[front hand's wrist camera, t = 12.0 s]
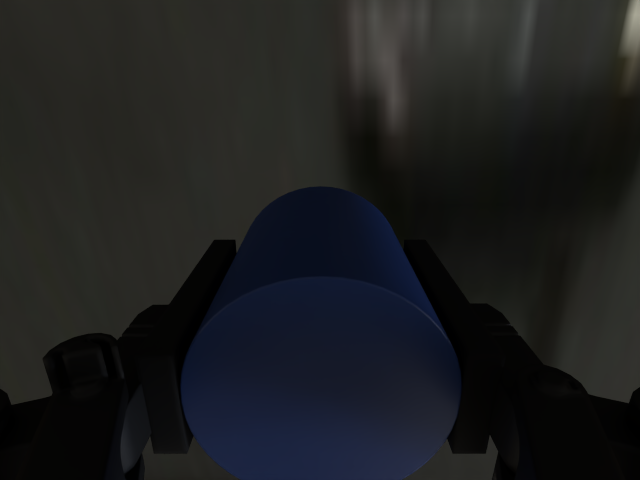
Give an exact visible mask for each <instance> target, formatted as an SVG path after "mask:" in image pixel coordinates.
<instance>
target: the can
mask: <svg viewBox="0 0 640 480" xmlns="http://www.w3.org/2000/svg"><path fill="white" fill-rule="evenodd" d="M461 393H462V376H461V369H460V365H459V362H458V358H457V355H456V353H455V351H454V349H453V346H452V344H451V342H450V340H449V338H448V336H447V334H446V332H445V330H444V328H443V326H442V325H441V323H440V321H439V319H438V317H437V315H436V313H435V311H434V309H433V307H432V305H431V303H430V301H429V299H428V297H427V295H426V293H425V292H424V290H423V288H422V286H421V284H420V282H419V280H418V278H417V276H416V274H415V272H414V270H413V268H412V266H411V264H410V262H409V261H408V259H407V257H406V255H405V253H404V251H403V249H402V247H401V245H400V243H399V241H398V239H397V237H396V235H395V233H394V231H393V229H392V228H391V226H390V224H389V223H388V221H387V219H386V218H385V217H384V216H383V214H382V213H381V212H380V211H379V210H378V209H377V208H376V207H375V206H374V205H372V204H371V203H370V202H368V201H367V200H365V199H364V198H362V197H360V196H358V195H356V194H354V193H352V192H349V191H346V190H343V189H338V188H333V187H321V186H320V187H308V188H303V189H298V190H295V191H292V192H289V193H287V194H285V195H283V196H281V197H279V198H277V199H276V200H274V201H273V202H271V203H270V204H269V205H268V206H267V207H265V208H264V209H263V210H262V211H261V212H260V214H259V215H258V216H257V217H256V218H255V220H254V222H253V223H252V225H251V226H250V228H249V230H248V232H247V234H246V236H245V238H244V240H243V242H242V244H241V246H240V248H239V250H238V252H237V254H236V256H235V258H234V260H233V262H232V264H231V266H230V268H229V270H228V272H227V274H226V276H225V278H224V280H223V282H222V284H221V285H220V287H219V289H218V291H217V293H216V295H215V297H214V299H213V301H212V303H211V305H210V307H209V309H208V311H207V313H206V315H205V317H204V319H203V321H202V323H201V325H200V327H199V329H198V331H197V333H196V335H195V337H194V339H193V341H192V343H191V345H190V347H189V350H188V352H187V354H186V356H185V359H184V363H183V367H182V371H181V380H180V395H181V404H182V408H183V412H184V416H185V419H186V421H187V423H188V426H189V428H190V430H191V432H192V434H193V435H194V437H195V439H196V440H197V442H198V443H199V445H200V446H201V447H202V448H203V449H204V451H205V452H206V453H207V454H208V455H209V456H210V457H211V458H212V459H213V460H214V461H215V462H216V463H217V464H218V465H220V466H221V467H222V468H224V469H225V470H226V471H228V472H229V473H230V474H232V475H234V476H235V477H237V478H239V479H241V480H402V479H403V478H405V477H407V476H408V475H410V474H412V473H413V472H415V471H416V470H417V469H419V468H420V467H421V466H423V465H424V464H425V463H426V462H427V461H428V460H429V459H430V458H431V457H432V456H433V455H434V454H435V453H436V452H437V451H438V450H439V448H440V447H441V446H442V445H443V444H444V442H445V441H446V439H447V437H448V436H449V434H450V432H451V431H452V429H453V426H454V424H455V422H456V419H457V417H458V412H459V406H460V400H461Z"/></svg>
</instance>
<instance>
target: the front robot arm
mask: <svg viewBox="0 0 640 480" xmlns="http://www.w3.org/2000/svg"><path fill="white" fill-rule="evenodd" d="M404 253H405V255H406V257H407V259H408V261H409V262H410V264H411V266H412V268H413V270H414V272H415V274H416V276H417V278H418V280H419V282H420V284H421V286H422V288H423V290H424V292H425V293H426V295H427V297H428V299H429V301H430V303H431V305H432V307H433V309H434V311H435V313H436V315H437V317H438V319H439V321H440V323H441V325H442V326H443V328H444V330H445V332H446V334H447V336H448V338H449V340H450V342H451V344H452V346H453V349H454V351H455V353H456V355H457V358H458V362H459V365H460V369H461V376H462V393H461V400H460V406H459V412H458V417H457V419H456V422H455V424H454V426H453V429H452V431H451V432H450V434H449V436H448V437H447V439H448V442H449V444H450V447H451V450H452V453H453V454H486V450H487V445H488V440H489V436H490V435H491V438H492V440H493V442H494V444H495V446H496V448H497V450H498V455H497V460H496V464H495V469H494V473H493V478H492V480H640V387H639V388H638V389H636V390H635V391H634V392H633V393H632V396H631V399H630V402H629V403H624V402H620V401H615V400H611V399H606V398H601V397H597V396H593V395H589V394H588V393H587V391H586V390H585V388H584V387H583V386H582V384H581V383H580V382H579V381H577V380H576V379H575V378H573V377H572V376H571V375H569V374H567V373H565V372H563V371H561V370H559V369H557V368H553V367H550V366H546V365H543V363H542V362H541V361H540V360H539V358H538V357H537V356H536V355H535V353H534V352H533V351H532V350H531V349H530V347H529V346H528V345H527V344H526V342H525V341H524V340H523V339H522V337H521V336H518V332H517V331H516V330H515V329H514V328H513V326H511V324H510V323H509V321H508V320H507V319H506V318H505V316H504V315H503V314H502V313H501V312H499V311H498V310H496V309H495V308H493V307H492V306H490V305H488V304H470V303H469V302H468V300H467V299H466V297H465V296H464V294H463V293H462V292H461V290H460V289H459V287H458V286H457V284H456V283H455V282H454V280H453V279H452V277H451V276H450V274H449V273H448V271H447V270H446V269H445V267H444V266H443V264H442V263H441V261H440V260H439V259H438V257H437V256H436V254H435V253H434V251H433V250H432V249H431V247H430V246H429V244H428V243H427V241H426V240H404ZM235 256H236V242H235V240H214V241H213V242H212V244H211V245H210V247H209V248H208V250H207V251H206V252H205V254H204V255H203V257H202V258H201V260H200V261H199V263H198V264H197V265H196V267H195V268H194V270H193V271H192V273H191V274H190V275H189V277H188V278H187V280H186V281H185V283H184V284H183V285H182V287H181V288H180V290H179V291H178V293H177V294H176V295H175V297H174V298H173V300H172V301H171V303H170V304H169V305H152V306H150V307H149V308H147V309H146V310H144V311H143V312H141V313H139V314H138V315H137V316H136V318H135V319H134V320H133V321H132V323H131V324H130V325H129V328H127V329H126V330H125V331H124V333H123V334H122V337H120V338H119V339H118V340H116V339H115V338H114V337H113V336H111V335H108V334H103V333H93V334H85V335H81V336H77V337H74V338H71V339H69V340H67V341H64V342H62V343H60V344H59V345H57V346H56V347H54V348H53V349H51V350H50V351H49V352H48V353H47V354H46V355H45V356H44V358H43V362H44V365H45V369H46V372H47V375H48V378H49V381H50V385H51V388H52V391H53V393H52V396H49V397H46V398H42V399H37V400H33V401H28V402H23V403H19V404H14V405H11V403H10V400H9V397H8V394H7V393H6V392H4V391H3V390H1V389H0V480H144V472H145V466H144V460H143V455H142V451H143V449H144V447H145V445H146V443H147V441H148V439H149V437H151V442H152V446H153V451H154V454H187V452H188V449H189V447H190V444H191V441H192V438H193V436H194V435H193V434H192V432H191V430H190V428H189V426H188V423H187V421H186V419H185V416H184V412H183V408H182V404H181V395H180V380H181V371H182V367H183V363H184V359H185V356H186V354H187V352H188V350H189V347H190V345H191V343H192V341H193V339H194V337H195V335H196V333H197V331H198V329H199V327H200V325H201V323H202V321H203V319H204V317H205V315H206V313H207V311H208V309H209V307H210V305H211V303H212V301H213V299H214V297H215V295H216V293H217V291H218V289H219V287H220V285H221V284H222V282H223V280H224V278H225V276H226V274H227V272H228V270H229V268H230V266H231V264H232V262H233V260H234V258H235Z"/></svg>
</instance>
